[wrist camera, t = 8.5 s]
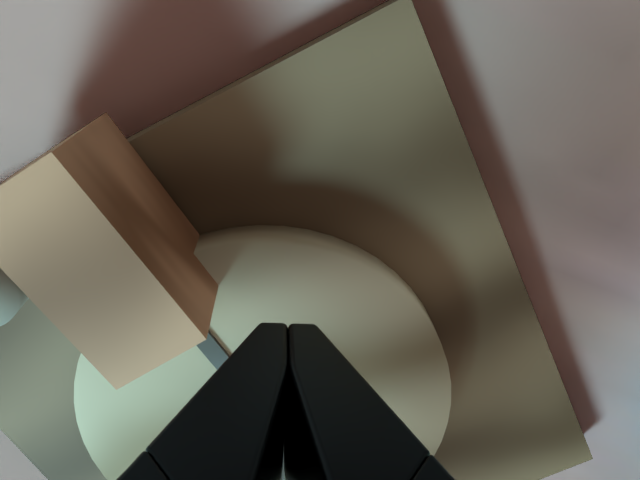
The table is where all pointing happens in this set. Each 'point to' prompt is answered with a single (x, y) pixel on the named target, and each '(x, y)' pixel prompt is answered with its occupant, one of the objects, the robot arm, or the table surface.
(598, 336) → the table surface
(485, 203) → the beige square tray
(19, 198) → the flange plate
